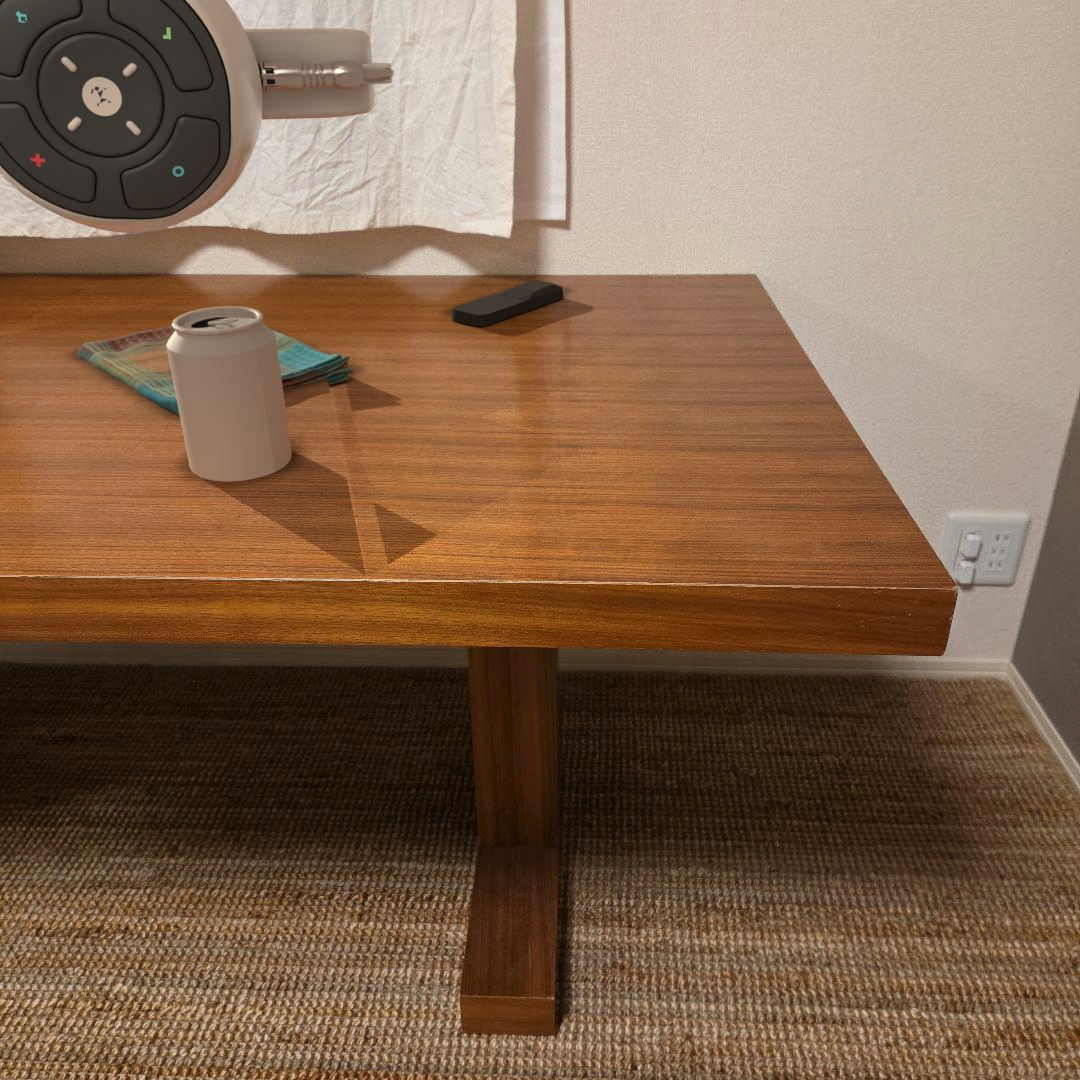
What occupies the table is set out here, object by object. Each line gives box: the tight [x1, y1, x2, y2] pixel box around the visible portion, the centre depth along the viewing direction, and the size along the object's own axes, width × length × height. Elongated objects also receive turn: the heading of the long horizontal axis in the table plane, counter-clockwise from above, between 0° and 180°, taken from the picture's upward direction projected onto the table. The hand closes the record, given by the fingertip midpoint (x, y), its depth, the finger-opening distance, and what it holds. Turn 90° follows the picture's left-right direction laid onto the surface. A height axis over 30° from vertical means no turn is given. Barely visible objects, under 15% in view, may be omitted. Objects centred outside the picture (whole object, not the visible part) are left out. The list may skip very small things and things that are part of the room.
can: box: [166, 305, 293, 483], centre depth 74 cm, size 8×8×12 cm
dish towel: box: [77, 324, 355, 417], centre depth 96 cm, size 17×23×2 cm
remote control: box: [451, 279, 565, 328], centre depth 114 cm, size 5×2×15 cm
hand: (167, 70), depth 53 cm, fingers open, 8 cm apart
